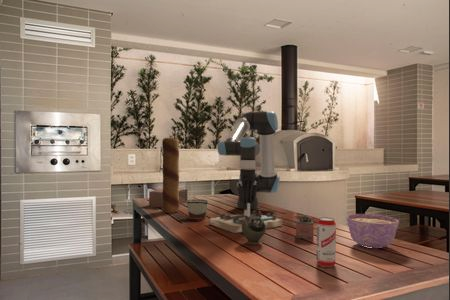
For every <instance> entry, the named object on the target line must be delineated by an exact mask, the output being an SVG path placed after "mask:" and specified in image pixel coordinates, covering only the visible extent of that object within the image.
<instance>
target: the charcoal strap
mask: <svg viewBox="0 0 450 300" xmlns="http://www.w3.org/2000/svg"><path fill="white" fill-rule="evenodd" d="M230 215H231V216H230V218H237V217H245V216H244V213H240V214H230ZM256 215H258V212H256V213H253V212H250V216H256ZM222 218H224V219H225V216H222Z"/></svg>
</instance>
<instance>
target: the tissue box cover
mask: <svg viewBox="0 0 450 300" xmlns="http://www.w3.org/2000/svg"><path fill="white" fill-rule="evenodd" d="M187 200H188V188H182V187H181V188H180V187H179V206H180V205H183V204H186V203H187ZM148 207H153V208H154V207H155V208H163V188H161V189H157V190H150V191H149V192H148Z"/></svg>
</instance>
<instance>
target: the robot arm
mask: <svg viewBox="0 0 450 300" xmlns="http://www.w3.org/2000/svg"><path fill="white" fill-rule="evenodd" d="M278 129H279V122H278V116H277V113H276V112H274V111H267V110H264V111H263V110H262V111H260V110H259V111H248V112H246V113H243V114H242V115H240V116H239V117H238V118H237V119H236V120H235V121H234V126H233V128H232V130H231V132H230V133H229V135H228V136H227V138H226V139H225V140H222V141H219V142H218V143H217V152H218V155H220V156H225V157H226V156H229V157H230V156H233V157H234V156H237V157H239V156H240V162H239V164H240V165H239V167H240V169H239V180H238V182H236V183H235V186H236V189H237V191H238V192H237V193H238V198H237V202H236V203H235V205H236V206H235V208H237V209H240V210H243V211H244V212H243V214H244V216H245V215H246V216H248V217H249V216H250V213H251V210H258V209H259V208H260V205H259V201H258V200H259V199H258V198H257V193H265V194H266V193H269V194H276V193H277V192H279V191H278V190H279V186H280V179H281V177H280V175H278V172H277V171H276V170H275V149H274V147H275V146H274V135H275V134H276V132H277V131H278ZM248 131H256V134H257V136H259V143H258V142H257V140H256V138H255V137H244V136H245V134H246V133H248ZM257 155H260V156H259V157H260V171H259V173H258V172H257V171H256V156H257Z"/></svg>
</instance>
